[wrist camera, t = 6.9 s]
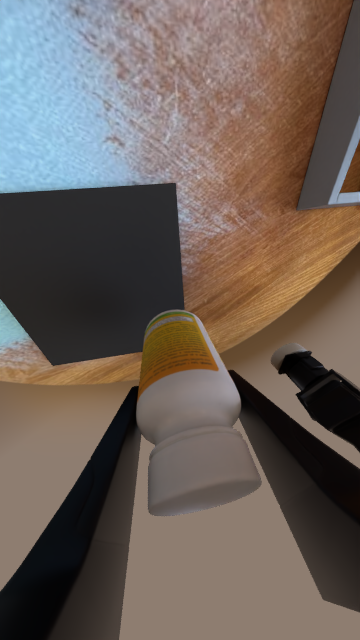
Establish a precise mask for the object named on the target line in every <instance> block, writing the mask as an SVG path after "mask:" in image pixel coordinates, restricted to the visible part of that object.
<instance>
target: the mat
mask: <svg viewBox="0 0 360 640" xmlns="http://www.w3.org/2000/svg"><path fill="white" fill-rule="evenodd" d="M0 299H1V300H2V301H3V303H4V304H5V305H6V306H7V308H8V309H9V310H10V312H11V313H12V314H13V315H14V317H15V318H16V319H17V321H18V322H19V323H20V324H21V326H22V327H23V328H24V330H25V331H26V332H27V333H28V335H29V336H30V337H31V338H32V340H33V341H34V342H35V344H36V345H37V346H38V347H39V349H40V350H41V351H42V353H43V354H44V355H45V356H46V358H47V359H48V360H49V362H50V363H51V364H52V365H53V366H55V365H61V364H67V363H74V362H80V361H86V360H93V359H99V358H105V357H111V356H118V355H124V354H130V353H137V352H143V345H144V336H145V331H146V328H147V326H148V324H149V323H150V322H151V320H152V319H153V318H154V317H156V316H157V315H159V314H160V313H162V312H165V311H169V310H184V296H183V282H182V267H181V253H180V238H179V224H178V209H177V195H176V183H168V184H151V185H135V186H118V187H102V188H85V189H69V190H52V191H36V192H19V193H3V194H0Z"/></svg>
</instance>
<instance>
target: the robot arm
mask: <svg viewBox="0 0 360 640" xmlns="http://www.w3.org/2000/svg"><path fill="white" fill-rule="evenodd" d="M311 354H312V352H311V351H304V352H298V353H293V354H287V355H285V357H284V359H283V361H282V364H281V366H280V369H279V371H278V374H280V375H281V374H286V375H287V376H288V377H289V378H290V379H291V380H292V381H293V382H294V383H295V384H296V386H297V387H298V388H299V389H300V390H301V392H299V393H297V394H296V396H297V397H298V399H299V401H300V402H301V404H302V405H303V406H304V408H305V409H306V410H307V412H308V413H309V415H310V417H311V418H312V419H313V420H314V421H317V422H318V423H319V424H320V425H322V426H323V427H324V428H325V429H327V430H328V431H330V432H332V433H333V434H335V435H337V436H338V437H340V438H341V439H343V440H345V441H346V442H348V443H350V444H352V445H353V446H355V448H356V449H357V450H358V451H359V452H360V389H359V388H358V387H357V386H356V385H355V384H353V383H352V382H351V381H349V380H348V379H346V378H345V377H344V376H342V375H341V374H339V373H338V372H336V371H334V370H333V369H331V370H329V371H328V370H327V369H325V368H324V366H323V365H322V364H321V363H320V362H319V361H317V360H316V359H315V358H313V357H312V356H311ZM227 371H228V372H229V374H230V376H231V378H232V380H233V382H234V384H235V386H236V388H237V390H238V393H239V395H240V399H241V411H240V415H239V419H240V421H241V423H242V426H243V428H244V430H245V432H246V434H247V436H248V438H249V441H250V443H251V445H252V447H253V449H254V451H255V454H256V456H257V458H258V460H259V462H260V464H261V466H262V469H263V471H264V473H265V475H266V477H267V480H268V482H269V484H270V486H271V488H272V490H273V493H274V495H275V497H276V499H277V501H278V503H279V505H280V508H281V510H282V512H283V514H284V517H285V519H286V521H287V523H288V525H289V527H290V530H291V531H292V534H293V536H294V538H295V540H296V542H297V545H298V547H299V549H300V551H301V553H302V556H303V558H304V560H305V562H306V564H307V566H308V569H309V571H310V573H311V575H312V577H313V579H314V581H315V584H316V586H317V588H318V590H319V592H320V594H321V596H322V598H323V600H325V601H328V602H331V603H334V604H337V605H340V606H343V607H346V608H349V609H351V610H354V611H357V612H360V469H359V468H358V467H356V466H355V465H353V464H352V463H351V462H349V461H348V460H347V459H345V458H344V457H342V456H341V455H340V454H338V453H337V452H335V451H334V450H333V449H331V448H330V447H329V446H327V445H326V444H324V443H323V442H322V441H320V440H319V439H318V438H316V437H315V436H314V435H312V434H311V433H310V432H308V431H307V430H306V429H305V428H303V427H302V426H301V425H300V424H298V423H297V422H296V421H295V420H293V419H292V418H290V416H289V415H287V414H286V413H285V412H284V411H282V410H281V409H280V408H279V407H277V406H276V405H275V404H274V403H273V402H271V401H270V400H269V399H267V398H266V397H265V396H264V395H263V394H262V393H260V392H259V391H258V390H257V389H256V388H254V387H253V386H252V385H251V384H250V383H248V382H247V381H246V380H245V379H243V378H242V377H241V376H240V375H238V374H237V373H236V372H235V371H234V370H227ZM340 380H341V381H342V382H340ZM138 391H139V386H134V387H132V388H131V390H130V391H129V393H128V395H127V396H126V398H125V400H124V402H123V404H122V405H121V407H120V408H119V410H118V412H117V414H116V416H115V417H114V419H113V420H112V422H111V424H110V426H109V427H108V429H107V431H106V432H105V434H104V436H103V438H102V439H101V441H100V443H99V444H98V446H97V448H96V449H95V451H94V453H93V455H92V456H91V460H89V461H88V463H87V465H86V466H85V468H84V470H83V471H82V473H81V475H80V476H79V478H78V480H77V481H76V483H75V485H74V486H73V488H72V489H71V491H70V492H69V494H68V495H67V497H66V499H65V500H64V502H63V503H62V505H61V506H60V508H59V509H58V511H57V512H56V514H55V515H54V517H53V518H52V520H51V521H50V522H49V524H48V525H47V527H46V529H45V530H44V532H43V533H42V534H41V536H40V537H39V539H38V540H37V542H36V543H35V545H34V546H33V548H32V549H31V551H30V552H29V554H28V555H27V557H26V558H25V560H24V561H23V563H22V564H21V565H20V567H19V568H18V569H17V571H16V572H15V573H14V575H13V576H12V577H11V579H10V580H9V581H8V583H7V584H6V585H5V586H4V588H3V589H2V590H1V591H0V640H119V634H120V625H121V615H122V606H123V597H124V588H125V579H126V570H127V561H128V552H129V542H130V533H131V524H132V515H133V505H134V496H135V486H136V477H137V469H138V460H139V451H140V442H141V432H140V430H139V428H138V425H137V421H136V410H137V399H138Z"/></svg>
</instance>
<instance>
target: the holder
mask: <svg viewBox="0 0 360 640" xmlns="http://www.w3.org/2000/svg"><path fill="white" fill-rule="evenodd" d="M359 139H360V0H354V2H353V6H352V9H351V13H350V16H349V20H348V24H347V27H346V31H345V35H344V38H343V42H342V46H341V49H340V53H339V57H338V60H337V64H336V67H335V71H334V75H333V78H332V82H331V86H330V89H329V93H328V97H327V100H326V104H325V108H324V111H323V115H322V119H321V122H320V126H319V129H318V133H317V137H316V140H315V144H314V148H313V151H312V155H311V159H310V162H309V166H308V170H307V173H306V177H305V180H304V184H303V188H302V191H301V195H300V199H299V202H298V206H297V210H307V209H320V208H332V207H344V206H355V205H360V192H348V193H339V192H340V190H341V187H342V184H343V182H344V179H345V176H346V174H347V171H348V168H349V166H350V163H351V161H352V158H353V155H354V153H355V150H356V147H357V145H358V142H359Z"/></svg>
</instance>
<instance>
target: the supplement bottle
mask: <svg viewBox="0 0 360 640" xmlns="http://www.w3.org/2000/svg"><path fill="white" fill-rule="evenodd" d="M240 411H241V399H240V395H239V393H238V390H237V388H236V386H235V384H234V382H233V380H232V378H231V376H230V374H229V372H228V371H227V369H226V367H225V365H224V363H223V361H222V359H221V357H220V356H219V354H218V352H217V350H216V348H215V346H214V344H213V342H212V340H211V338H210V336H209V335H208V333H207V331H206V329H205V327H204V325H203V324H202V322H201V321H200V319H199V318H198V317H197V316H196V315H194V314H192V313H190V312H188V311H185V310H169V311H165V312H162V313H160V314H159V315H157V316H156V317H154V318H153V319H152V320H151V322H150V323H149V324H148V326H147V328H146V331H145V336H144V345H143V355H142V364H141V373H140V382H139V391H138V399H137V410H136V421H137V425H138V428H139V430H140V432H141V434H142V435H143V436H144V437H145V439H146V440H148V441H150V442H151V443H153V444H155V448H154V449H153V450H152V452H151V454H150V458H149V460H150V463H149V467H148V510H149V513H150V514H152V515H155V516H174V515H180V514H186V513H192V512H196V511H201V510H205V509H209V508H213V507H217V506H220V505H223V504H226V503H229V502H232V501H235V500H237V499H240V498H242V497H244V496H246V495H248V494H250V493H252V492H254V491H255V490H257V489H258V488H259V487H260V486H261V478H260V475H259V473H258V471H257V468H256V466H255V464H254V461H253V459H252V456H251V454H250V451H249V448H248V445H247V443H246V442H245V440H244V439H243V438H242V435H241V434H240V433H239V432H238V431H237V430H236V429H233V427H232V426H233V425H234V424H235V422H236V421H237V419H238V417H239V415H240Z"/></svg>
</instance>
